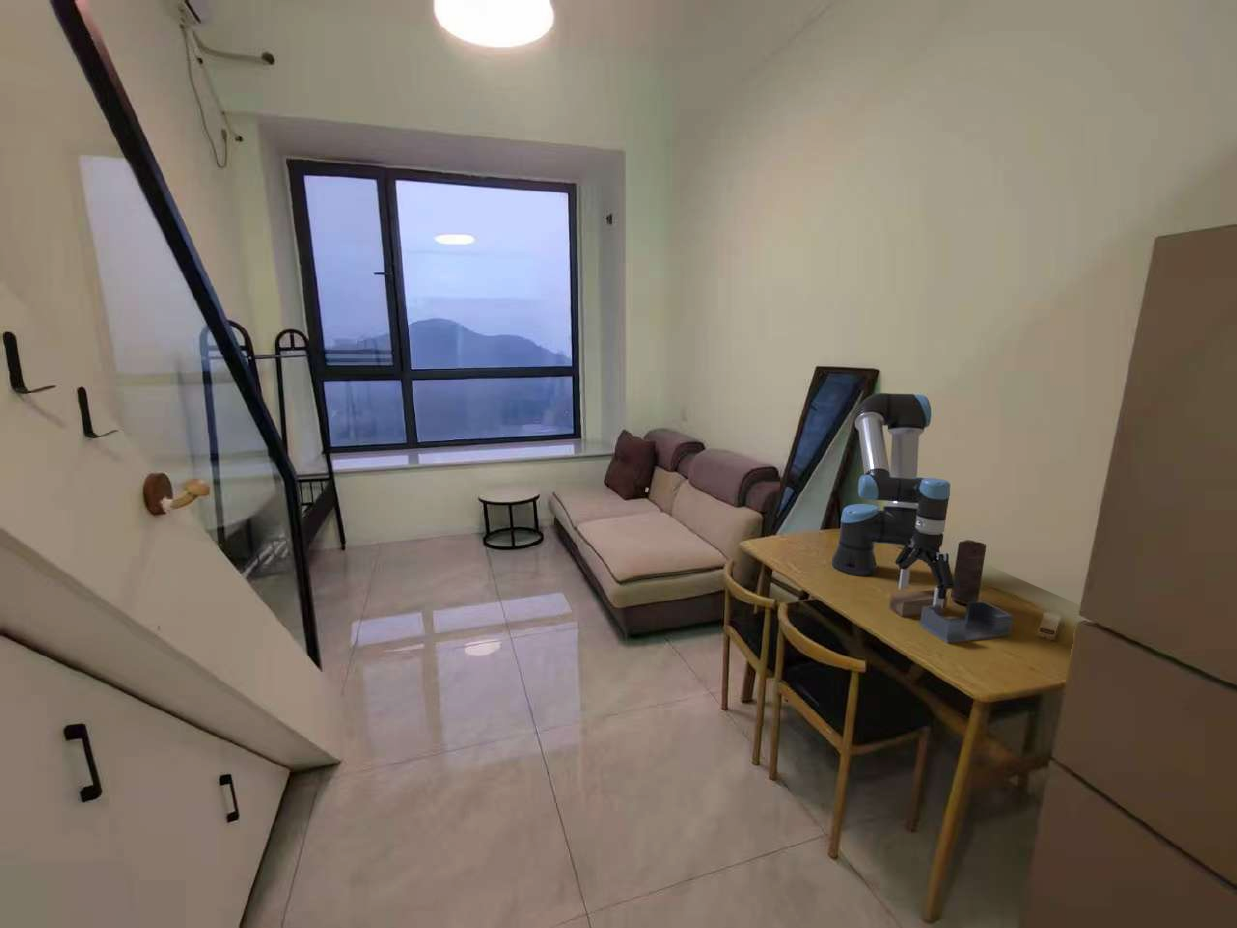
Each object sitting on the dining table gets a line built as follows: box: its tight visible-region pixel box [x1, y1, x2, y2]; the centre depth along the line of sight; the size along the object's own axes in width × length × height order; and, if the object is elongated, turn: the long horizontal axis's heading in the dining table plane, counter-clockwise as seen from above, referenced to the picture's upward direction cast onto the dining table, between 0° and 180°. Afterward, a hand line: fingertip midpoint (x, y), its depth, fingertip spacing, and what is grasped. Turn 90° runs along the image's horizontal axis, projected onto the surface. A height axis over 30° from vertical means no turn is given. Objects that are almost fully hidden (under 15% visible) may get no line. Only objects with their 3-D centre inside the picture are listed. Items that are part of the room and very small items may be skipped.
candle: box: [950, 539, 987, 605], centre depth 166 cm, size 8×7×20 cm
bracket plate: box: [918, 599, 1014, 644], centre depth 150 cm, size 10×21×6 cm, turn 103°
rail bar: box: [889, 589, 948, 618], centre depth 162 cm, size 5×16×5 cm, turn 105°
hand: (919, 598), depth 161 cm, fingers open, 13 cm apart
